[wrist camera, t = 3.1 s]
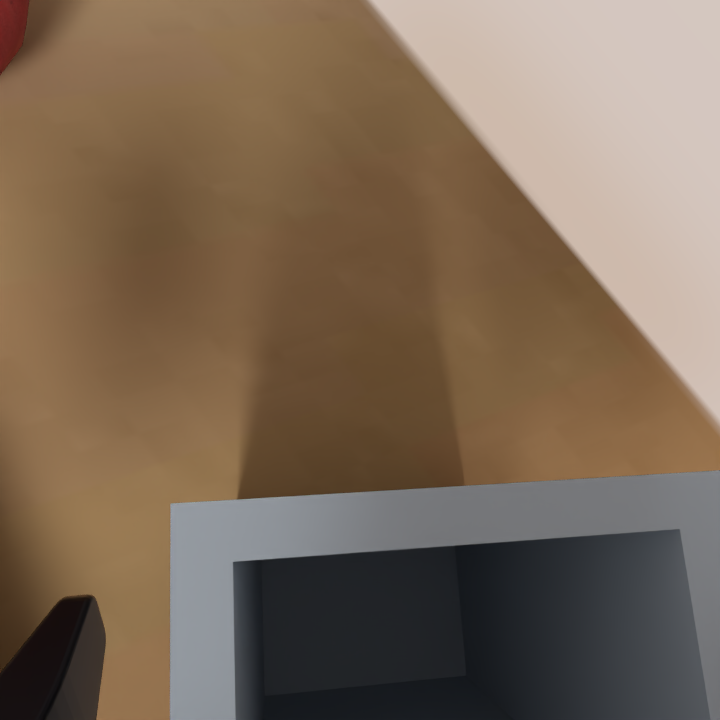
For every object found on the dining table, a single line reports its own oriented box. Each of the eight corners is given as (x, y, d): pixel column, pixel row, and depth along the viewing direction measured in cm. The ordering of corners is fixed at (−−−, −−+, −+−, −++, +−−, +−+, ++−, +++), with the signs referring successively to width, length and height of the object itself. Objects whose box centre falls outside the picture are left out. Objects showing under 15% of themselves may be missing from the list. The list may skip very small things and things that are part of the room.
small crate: (485, 692, 16) (813, 998, 6) (240, 718, 15) (168, 1118, 5) (465, 488, 17) (719, 470, 7) (236, 502, 16) (170, 503, 6)
